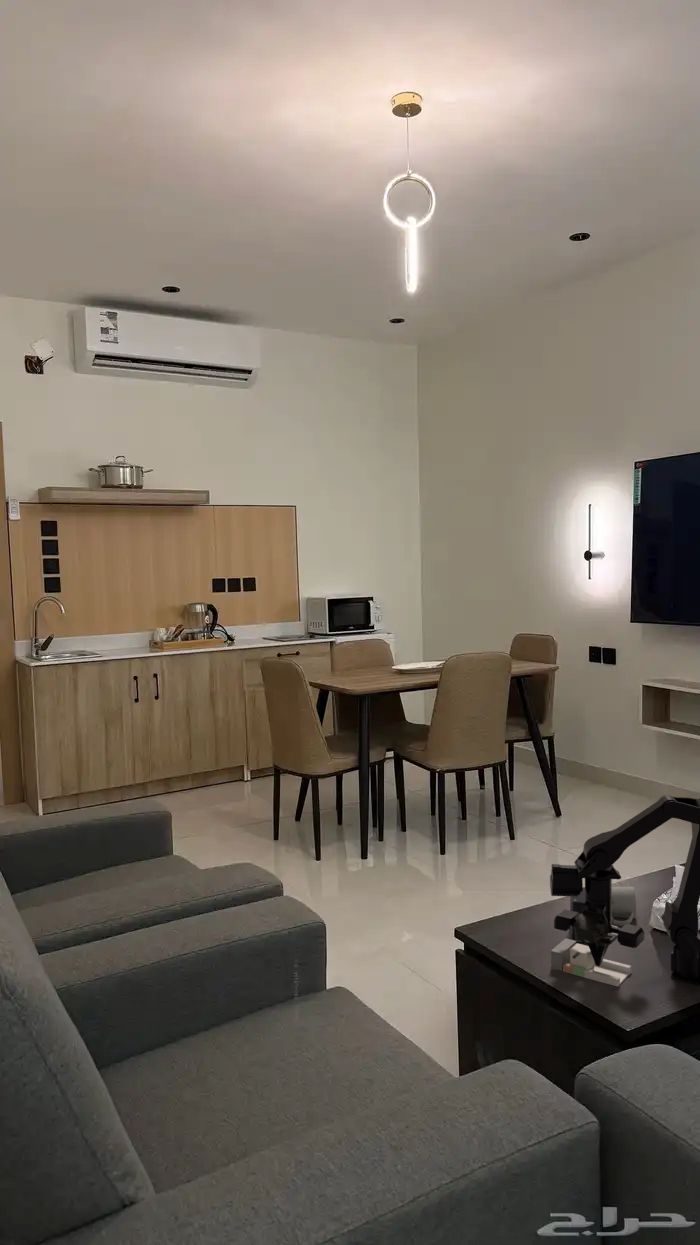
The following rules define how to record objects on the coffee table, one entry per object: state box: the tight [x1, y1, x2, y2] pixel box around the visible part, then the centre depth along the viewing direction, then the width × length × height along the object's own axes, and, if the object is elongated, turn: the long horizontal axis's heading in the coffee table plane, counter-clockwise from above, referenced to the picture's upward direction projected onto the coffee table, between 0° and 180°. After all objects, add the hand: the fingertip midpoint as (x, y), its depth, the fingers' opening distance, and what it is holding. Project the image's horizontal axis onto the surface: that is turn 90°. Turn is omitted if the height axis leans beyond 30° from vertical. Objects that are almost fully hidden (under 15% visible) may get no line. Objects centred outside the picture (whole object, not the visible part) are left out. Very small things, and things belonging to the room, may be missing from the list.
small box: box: [569, 886, 588, 945], centre depth 212 cm, size 11×6×10 cm, turn 168°
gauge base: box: [550, 937, 632, 988], centre depth 194 cm, size 15×8×4 cm, turn 53°
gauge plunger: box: [570, 943, 594, 969], centre depth 194 cm, size 4×7×4 cm, turn 143°
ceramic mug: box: [612, 886, 637, 927], centre depth 222 cm, size 11×8×8 cm
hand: (598, 965), depth 193 cm, fingers closed
